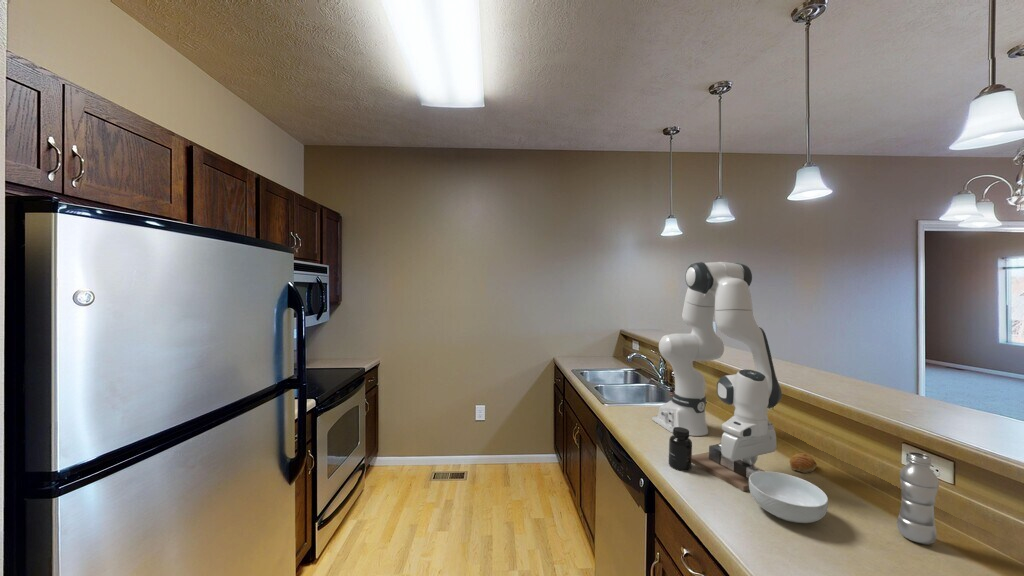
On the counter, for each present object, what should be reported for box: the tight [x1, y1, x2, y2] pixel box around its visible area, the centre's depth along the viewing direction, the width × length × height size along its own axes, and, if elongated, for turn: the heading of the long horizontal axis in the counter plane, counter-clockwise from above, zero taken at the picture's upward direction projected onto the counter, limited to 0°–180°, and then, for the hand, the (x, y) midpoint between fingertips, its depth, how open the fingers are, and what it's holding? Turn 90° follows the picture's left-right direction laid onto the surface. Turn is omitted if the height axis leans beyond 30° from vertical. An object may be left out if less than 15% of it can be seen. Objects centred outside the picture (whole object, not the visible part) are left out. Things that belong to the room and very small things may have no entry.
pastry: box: [789, 452, 818, 474], centre depth 126 cm, size 9×7×4 cm
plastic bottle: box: [896, 451, 940, 546], centre depth 91 cm, size 6×7×20 cm
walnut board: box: [691, 451, 765, 492], centre depth 123 cm, size 20×15×2 cm
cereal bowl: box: [749, 470, 829, 524], centre depth 100 cm, size 17×17×7 cm
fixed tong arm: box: [721, 455, 757, 479], centre depth 118 cm, size 12×1×3 cm, turn 22°
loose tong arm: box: [737, 459, 760, 472], centre depth 119 cm, size 12×1×3 cm, turn 22°
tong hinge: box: [708, 442, 722, 465], centre depth 127 cm, size 4×7×5 cm, turn 112°
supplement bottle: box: [668, 427, 693, 471], centre depth 125 cm, size 7×7×12 cm
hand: (749, 469), depth 118 cm, fingers closed
